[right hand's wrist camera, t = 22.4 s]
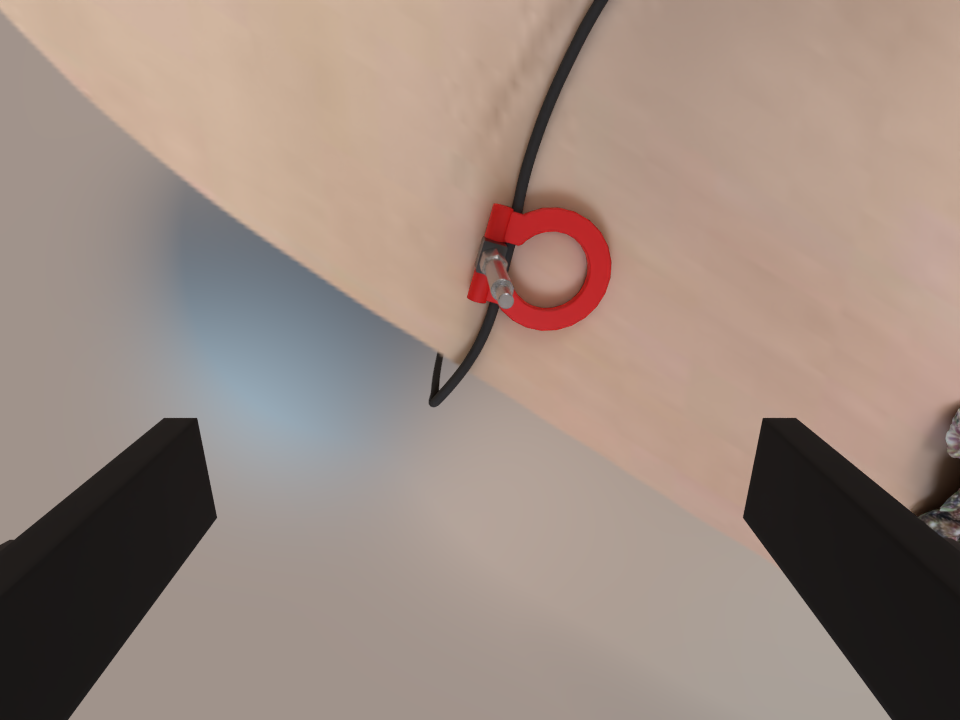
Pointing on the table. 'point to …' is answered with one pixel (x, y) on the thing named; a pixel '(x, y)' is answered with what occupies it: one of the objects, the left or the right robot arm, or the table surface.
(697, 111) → the table surface
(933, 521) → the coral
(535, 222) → the tow hook
